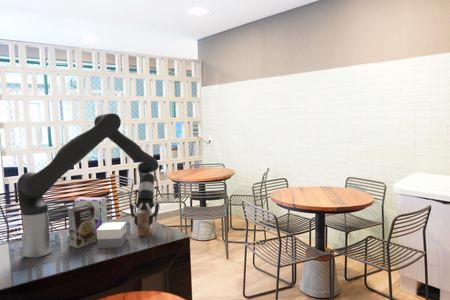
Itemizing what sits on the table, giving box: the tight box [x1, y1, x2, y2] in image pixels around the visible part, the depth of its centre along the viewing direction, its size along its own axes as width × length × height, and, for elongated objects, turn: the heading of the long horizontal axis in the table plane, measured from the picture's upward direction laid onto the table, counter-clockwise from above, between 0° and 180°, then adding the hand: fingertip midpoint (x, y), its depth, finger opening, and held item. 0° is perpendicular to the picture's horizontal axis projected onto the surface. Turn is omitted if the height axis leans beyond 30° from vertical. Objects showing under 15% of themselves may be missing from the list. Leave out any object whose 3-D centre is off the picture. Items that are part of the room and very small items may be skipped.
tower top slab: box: [96, 221, 128, 240], centre depth 154 cm, size 10×10×4 cm
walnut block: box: [136, 210, 152, 237], centre depth 164 cm, size 5×5×11 cm
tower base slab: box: [97, 231, 128, 249], centre depth 154 cm, size 10×10×4 cm
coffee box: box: [67, 205, 97, 249], centre depth 153 cm, size 9×6×16 cm
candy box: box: [73, 196, 108, 235], centre depth 169 cm, size 14×6×16 cm, turn 81°
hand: (143, 224), depth 163 cm, fingers open, 5 cm apart
